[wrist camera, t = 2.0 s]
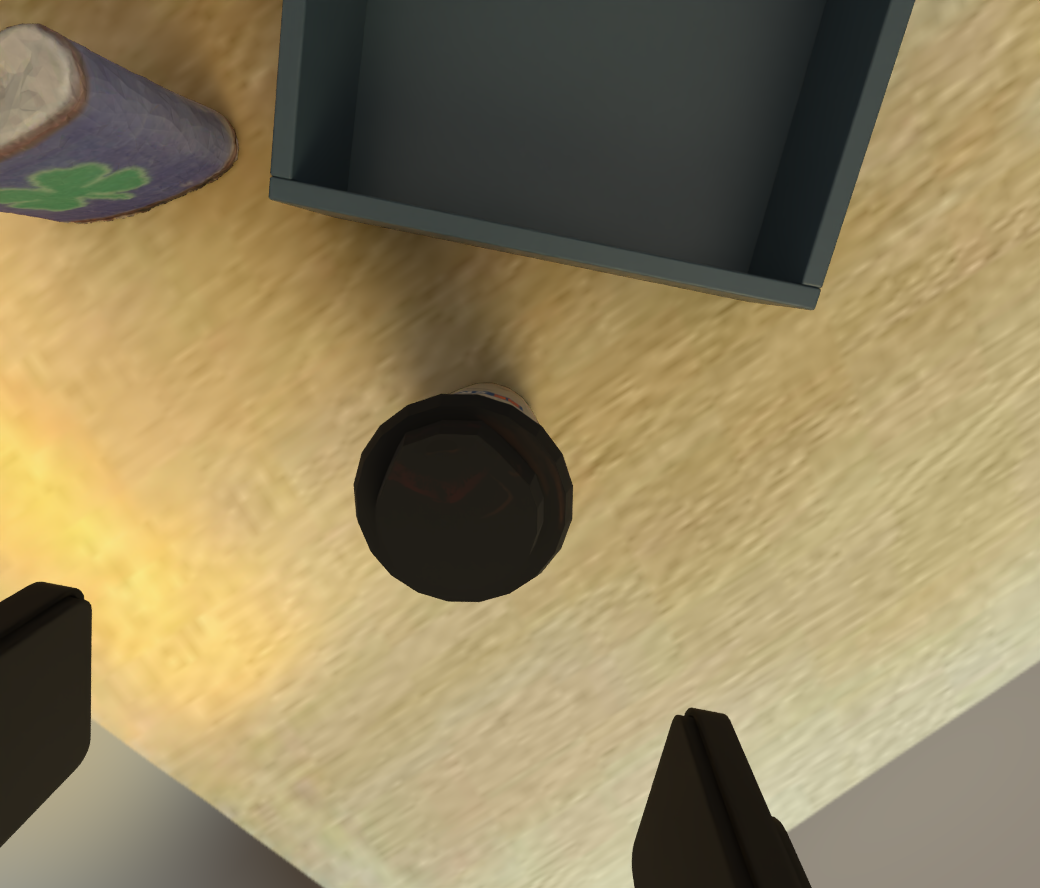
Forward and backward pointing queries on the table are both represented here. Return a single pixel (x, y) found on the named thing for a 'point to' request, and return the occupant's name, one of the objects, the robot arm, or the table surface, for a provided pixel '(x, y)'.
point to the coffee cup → (464, 494)
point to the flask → (96, 134)
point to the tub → (592, 129)
